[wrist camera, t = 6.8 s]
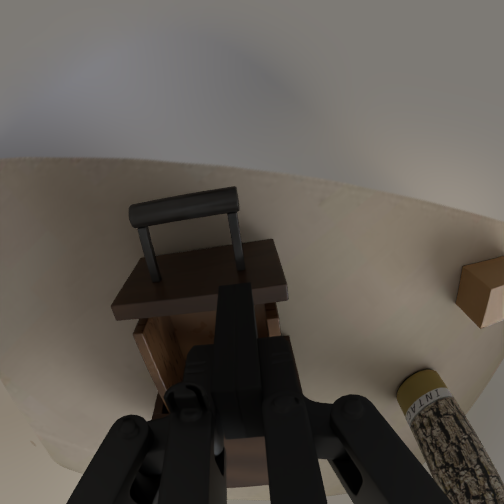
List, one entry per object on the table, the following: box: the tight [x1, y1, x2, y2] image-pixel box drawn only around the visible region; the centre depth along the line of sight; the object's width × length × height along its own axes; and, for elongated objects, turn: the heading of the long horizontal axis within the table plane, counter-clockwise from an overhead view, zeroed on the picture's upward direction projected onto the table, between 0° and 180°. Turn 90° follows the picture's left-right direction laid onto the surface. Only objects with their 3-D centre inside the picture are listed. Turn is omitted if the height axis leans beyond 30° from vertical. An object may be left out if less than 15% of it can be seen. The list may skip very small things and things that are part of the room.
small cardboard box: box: [456, 256, 504, 329], centre depth 27 cm, size 8×5×6 cm, turn 98°
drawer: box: [111, 186, 289, 414], centre depth 24 cm, size 19×11×8 cm, turn 8°
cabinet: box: [152, 336, 303, 488], centre depth 29 cm, size 15×13×10 cm
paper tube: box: [397, 370, 504, 504], centre depth 24 cm, size 7×7×25 cm
